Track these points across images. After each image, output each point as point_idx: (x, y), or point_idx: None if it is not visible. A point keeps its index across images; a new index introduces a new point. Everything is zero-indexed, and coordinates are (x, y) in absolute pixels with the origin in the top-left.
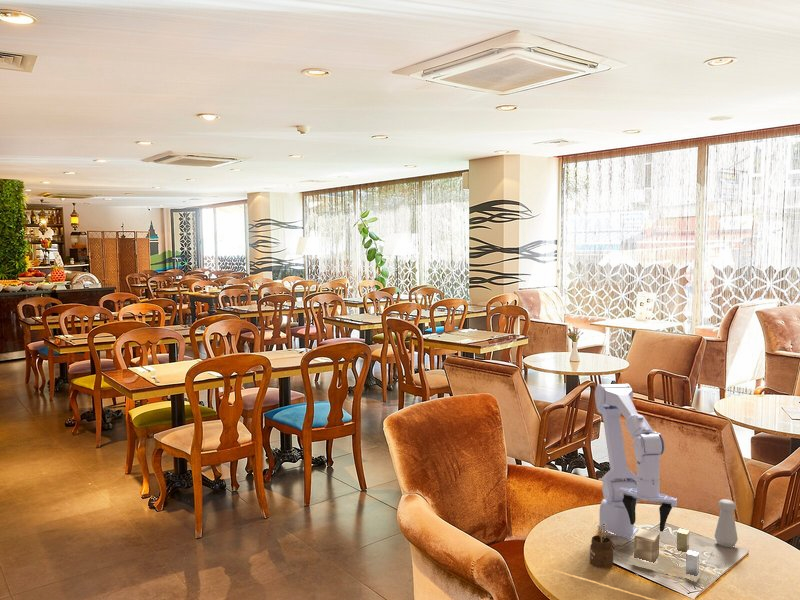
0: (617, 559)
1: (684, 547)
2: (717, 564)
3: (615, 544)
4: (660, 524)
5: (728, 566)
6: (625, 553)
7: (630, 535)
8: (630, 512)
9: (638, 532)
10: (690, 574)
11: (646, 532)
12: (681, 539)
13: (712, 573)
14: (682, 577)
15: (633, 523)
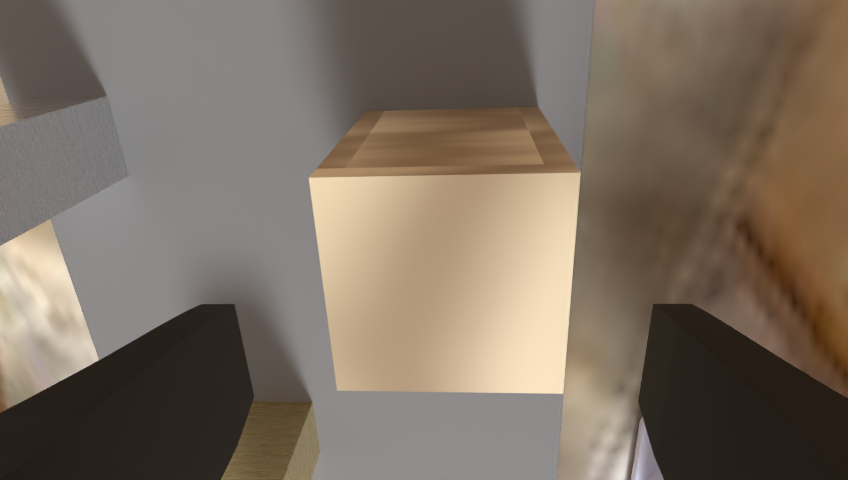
0: (675, 27)
1: (249, 430)
2: (61, 372)
3: (737, 291)
4: (153, 355)
5: (7, 381)
6: (630, 186)
7: (652, 454)
8: (833, 436)
9: (551, 282)
10: (69, 98)
11: (466, 334)
12: (250, 475)
13: (14, 241)
14: (92, 12)
15: (653, 333)
